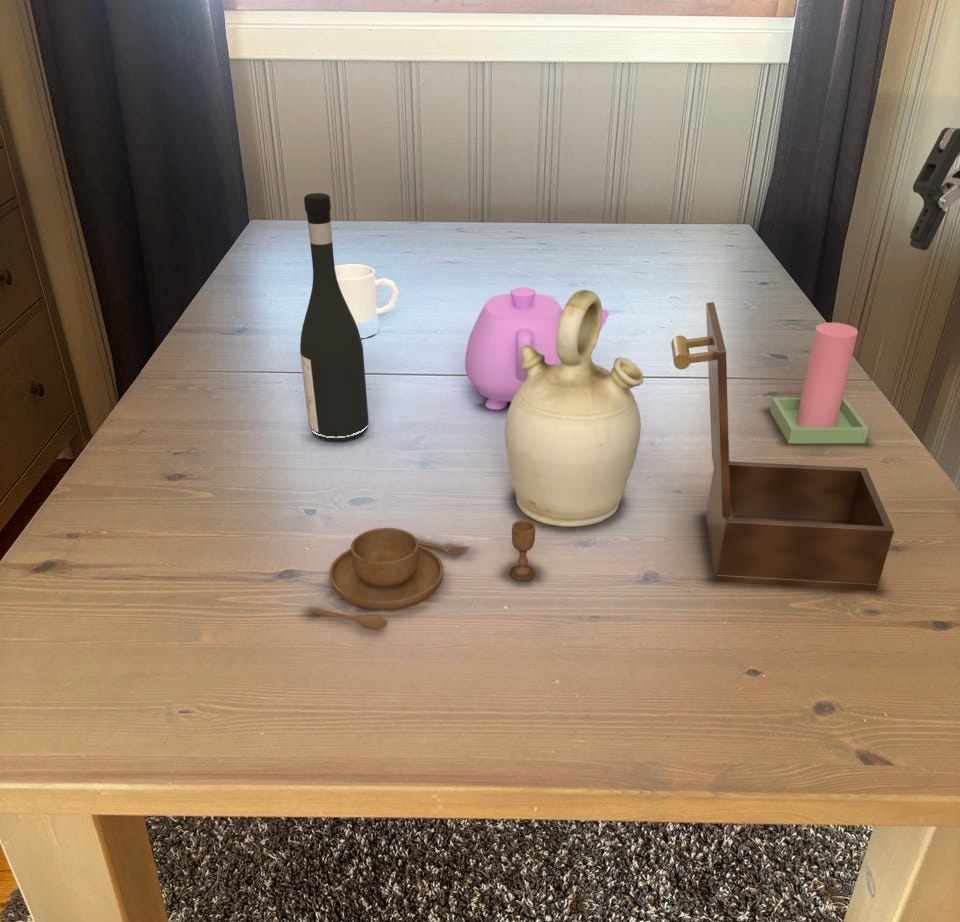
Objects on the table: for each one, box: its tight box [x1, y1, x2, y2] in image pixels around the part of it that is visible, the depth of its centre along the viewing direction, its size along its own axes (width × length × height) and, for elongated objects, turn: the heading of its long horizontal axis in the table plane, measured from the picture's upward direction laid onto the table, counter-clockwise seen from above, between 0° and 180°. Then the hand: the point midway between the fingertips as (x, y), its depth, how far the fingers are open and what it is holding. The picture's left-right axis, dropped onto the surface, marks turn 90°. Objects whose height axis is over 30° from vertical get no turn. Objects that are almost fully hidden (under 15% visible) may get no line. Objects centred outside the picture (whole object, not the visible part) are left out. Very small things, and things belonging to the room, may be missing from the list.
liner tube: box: [797, 322, 859, 427], centre depth 129 cm, size 5×5×13 cm
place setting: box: [310, 519, 536, 629], centre depth 100 cm, size 18×20×6 cm
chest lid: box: [670, 301, 731, 518], centre depth 99 cm, size 17×14×5 cm
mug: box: [335, 263, 401, 324], centre depth 159 cm, size 8×12×10 cm
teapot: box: [464, 287, 610, 410], centre depth 136 cm, size 20×20×15 cm
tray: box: [769, 396, 870, 445], centre depth 132 cm, size 10×10×2 cm
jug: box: [504, 289, 644, 528], centre depth 109 cm, size 15×16×25 cm
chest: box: [705, 460, 895, 591], centre depth 105 cm, size 17×14×7 cm
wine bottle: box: [299, 192, 369, 443], centre depth 123 cm, size 8×8×30 cm
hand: (950, 261), depth 97 cm, fingers open, 8 cm apart
